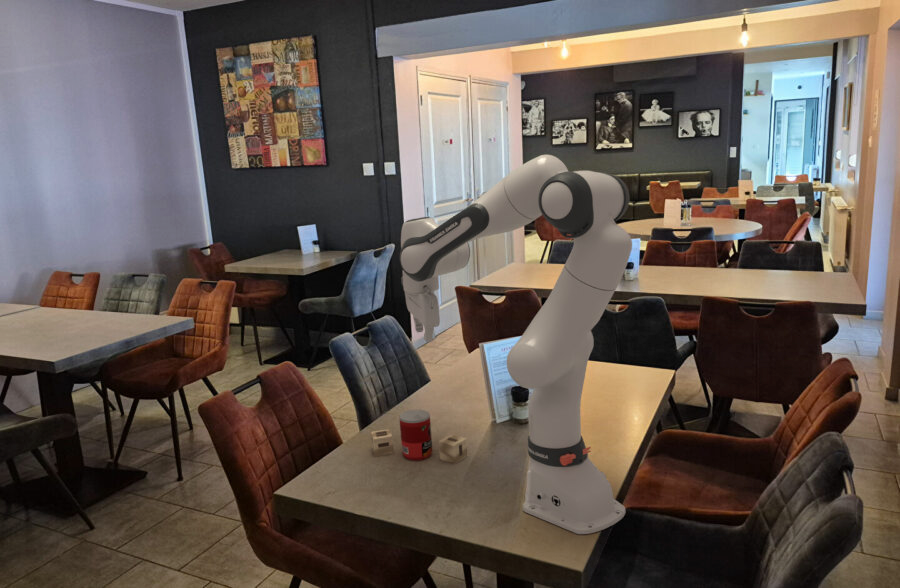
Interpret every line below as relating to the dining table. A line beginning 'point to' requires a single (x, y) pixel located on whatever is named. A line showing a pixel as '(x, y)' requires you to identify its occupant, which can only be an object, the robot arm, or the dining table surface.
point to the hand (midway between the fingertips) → (423, 336)
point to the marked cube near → (453, 449)
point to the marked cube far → (382, 442)
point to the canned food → (416, 434)
